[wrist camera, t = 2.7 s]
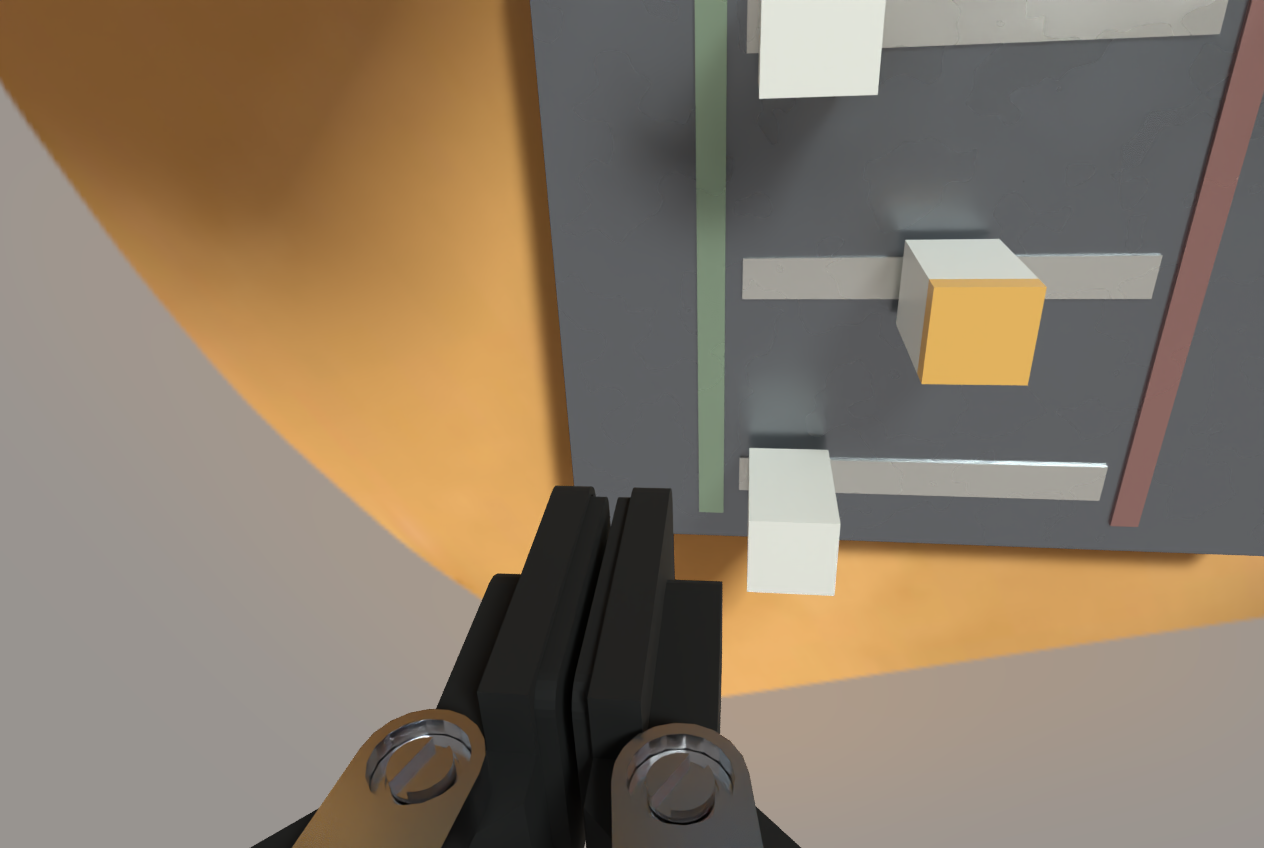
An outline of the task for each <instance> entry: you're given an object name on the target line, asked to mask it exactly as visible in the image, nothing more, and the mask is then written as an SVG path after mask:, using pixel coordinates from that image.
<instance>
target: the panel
mask: <svg viewBox="0 0 1264 848" xmlns="http://www.w3.org/2000/svg"><path fill="white" fill-rule="evenodd" d="M530 7H531V18H532V29H533V40H534V51H535V62H536V73H537V84H538V95H539V106H540V117H541V128H542V139H543V149H544V160H545V171H546V182H547V193H548V204H549V215H550V226H551V237H552V248H553V259H554V270H555V281H556V292H557V303H558V314H559V325H560V335H561V346H562V357H563V368H564V379H565V390H566V401H567V412H568V423H569V434H570V445H571V456H572V467H573V478H574V486H592V487H593V488H594V490H595V494H596V497H607V498H608V501H609V510H610V524H612V520H613V515H614V511H615V507H616V503H617V499H618V497H631V493H632V490H633V488H634V487H637V488H671V489H672V500H673V534H696V535H723V536H748V486H749V448H772V449H815V450H828V451H829V457H830V463H831V469H832V475H833V481H834V488H835V494H836V500H837V506H838V512H839V518H840V536H839V540H854V541H881V542H907V543H933V544H960V545H986V546H1012V547H1039V548H1065V549H1091V550H1117V551H1144V552H1170V553H1196V554H1223V555H1249V556H1264V0H886V5H885V16H884V28H883V39H882V51H881V62H880V74H879V86H878V95H859V96H829V97H799V98H769V99H759V87H758V63H759V21H760V0H530ZM942 239H1000V240H1001V241H1002V242H1003V243H1004V244H1005V245H1006V246H1007V247H1008V248H1009V249H1010V250H1011V251H1012V252H1013V253H1014V254H1015V255H1016V256H1017V257H1018V258H1019V259H1020V260H1021V261H1022V262H1023V263H1024V264H1025V265H1026V266H1027V267H1028V268H1029V269H1030V270H1031V271H1032V272H1033V274H1034V275H1035V276H1036V277H1037V278H1038V279H1039V280H1040V281H1041V282H1042V283H1043V284H1044V285H1045V286H1046V287H1047V289H1046V294H1045V299H1044V304H1043V309H1042V315H1041V320H1040V325H1039V330H1038V335H1037V340H1036V345H1035V350H1034V356H1033V361H1032V366H1031V371H1030V376H1029V381H1028V385H952V384H921V382H920V379H919V377H918V375H917V372H916V370H915V368H914V365H913V363H912V361H911V358H910V356H909V354H908V351H907V349H906V347H905V344H904V342H903V340H902V337H901V335H900V333H899V330H898V328H897V325H896V319H897V310H898V301H899V292H900V283H901V274H902V265H903V255H904V246H905V240H942Z"/></svg>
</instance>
